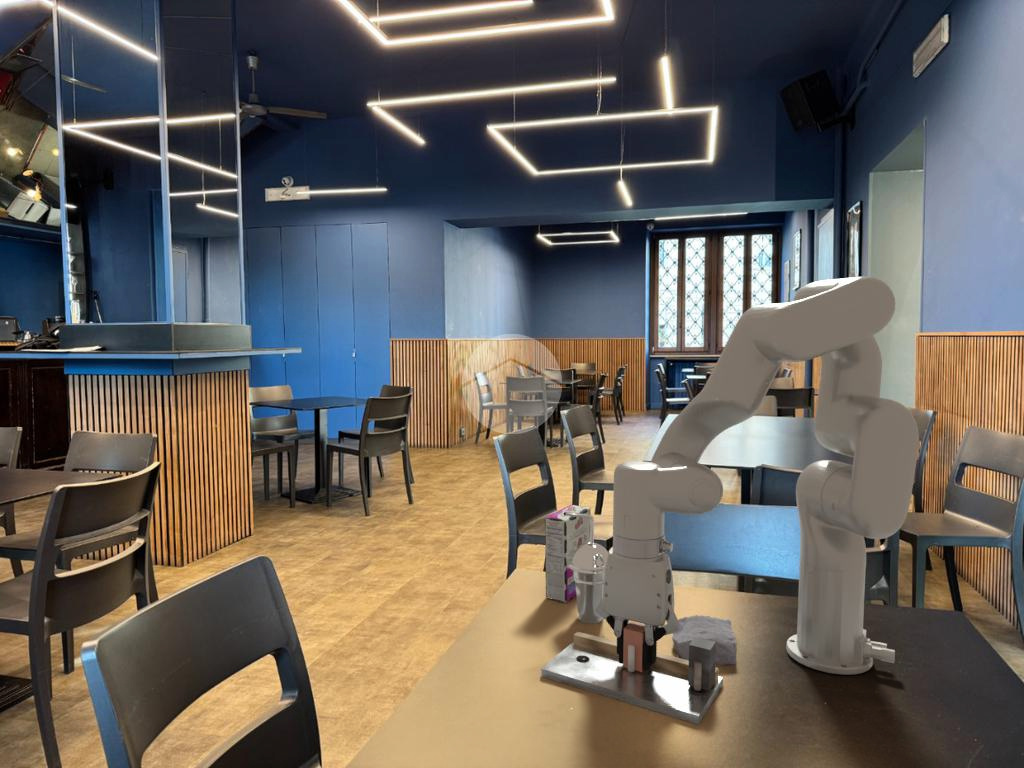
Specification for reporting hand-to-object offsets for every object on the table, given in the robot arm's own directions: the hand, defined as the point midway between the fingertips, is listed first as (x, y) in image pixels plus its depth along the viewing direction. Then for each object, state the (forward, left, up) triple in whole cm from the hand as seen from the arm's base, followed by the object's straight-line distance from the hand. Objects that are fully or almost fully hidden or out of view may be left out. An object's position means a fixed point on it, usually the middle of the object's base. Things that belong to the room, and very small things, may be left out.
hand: (636, 662), depth 104 cm
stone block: (-6, -15, -3) cm, 16 cm away
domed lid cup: (+15, -15, -2) cm, 21 cm away
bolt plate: (0, +2, -2) cm, 3 cm away
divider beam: (0, 0, -1) cm, 1 cm away
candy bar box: (+24, -24, -2) cm, 34 cm away
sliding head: (0, +1, -1) cm, 1 cm away
